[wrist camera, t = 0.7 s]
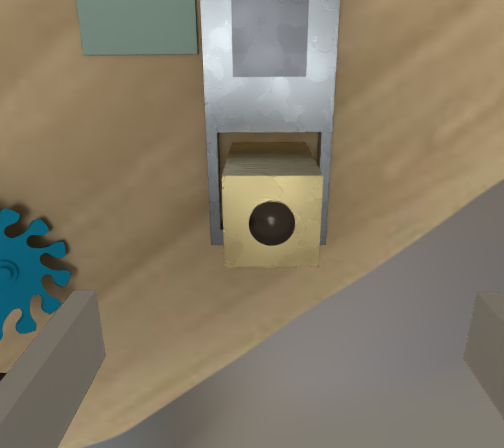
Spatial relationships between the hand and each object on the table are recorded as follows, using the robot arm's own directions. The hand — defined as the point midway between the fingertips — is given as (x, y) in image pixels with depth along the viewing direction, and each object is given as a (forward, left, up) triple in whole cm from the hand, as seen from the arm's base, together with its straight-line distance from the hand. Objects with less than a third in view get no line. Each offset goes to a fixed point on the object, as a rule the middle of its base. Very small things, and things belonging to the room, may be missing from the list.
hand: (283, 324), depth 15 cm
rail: (0, +8, -20) cm, 21 cm away
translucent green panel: (-9, +13, -20) cm, 25 cm away
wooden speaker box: (0, 0, -20) cm, 20 cm away
